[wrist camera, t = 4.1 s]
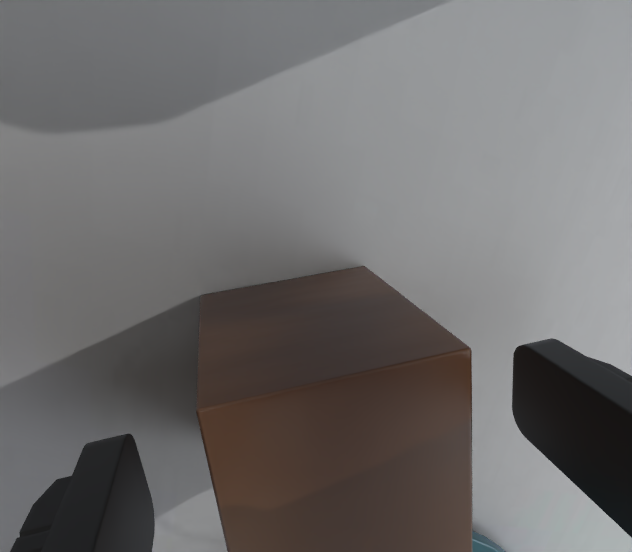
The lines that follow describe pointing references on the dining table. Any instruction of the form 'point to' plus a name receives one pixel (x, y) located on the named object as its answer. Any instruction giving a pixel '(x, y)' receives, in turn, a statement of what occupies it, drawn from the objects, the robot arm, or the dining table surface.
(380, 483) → the block
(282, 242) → the dining table surface
